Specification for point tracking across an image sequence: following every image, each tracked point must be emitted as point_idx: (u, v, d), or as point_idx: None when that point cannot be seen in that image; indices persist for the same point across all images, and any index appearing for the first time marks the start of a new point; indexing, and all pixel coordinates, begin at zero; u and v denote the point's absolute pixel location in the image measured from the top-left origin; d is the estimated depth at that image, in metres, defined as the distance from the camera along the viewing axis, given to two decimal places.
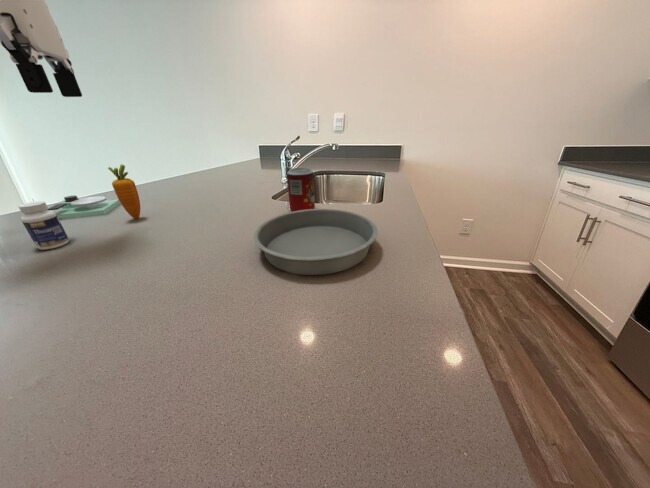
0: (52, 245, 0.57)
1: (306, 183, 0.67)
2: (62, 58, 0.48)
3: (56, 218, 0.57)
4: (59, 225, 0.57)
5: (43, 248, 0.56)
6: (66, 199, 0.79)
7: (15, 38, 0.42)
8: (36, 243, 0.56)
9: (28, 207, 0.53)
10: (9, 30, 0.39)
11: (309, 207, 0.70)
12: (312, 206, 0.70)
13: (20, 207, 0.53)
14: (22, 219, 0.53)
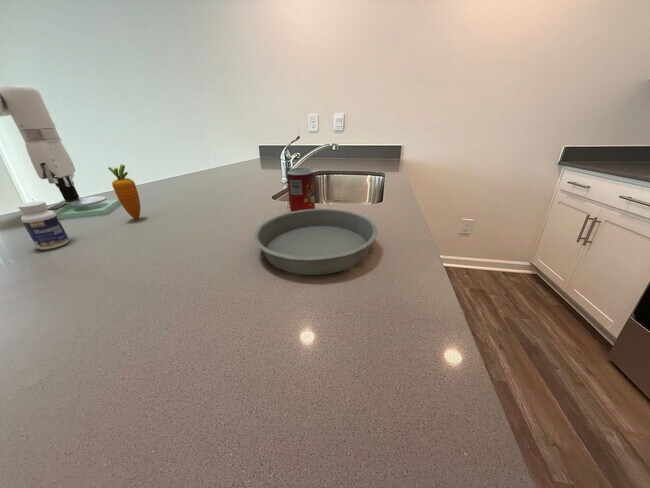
0: (52, 245, 0.57)
1: (306, 183, 0.67)
2: (72, 173, 0.80)
3: (56, 218, 0.57)
4: (59, 225, 0.57)
5: (43, 248, 0.56)
6: (67, 201, 0.80)
7: None
8: (36, 243, 0.56)
9: (28, 207, 0.53)
10: (55, 178, 0.74)
11: (309, 207, 0.70)
12: (312, 206, 0.70)
13: (20, 207, 0.53)
14: (22, 219, 0.53)
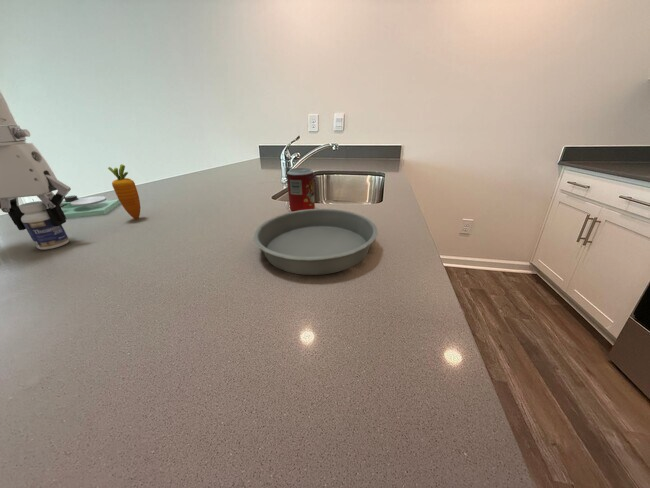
0: (52, 245, 0.57)
1: (306, 183, 0.67)
2: (36, 195, 0.53)
3: None
4: None
5: (43, 248, 0.56)
6: (66, 199, 0.79)
7: None
8: (36, 243, 0.56)
9: (28, 207, 0.53)
10: None
11: (309, 207, 0.70)
12: (312, 206, 0.70)
13: (20, 207, 0.53)
14: (22, 219, 0.53)
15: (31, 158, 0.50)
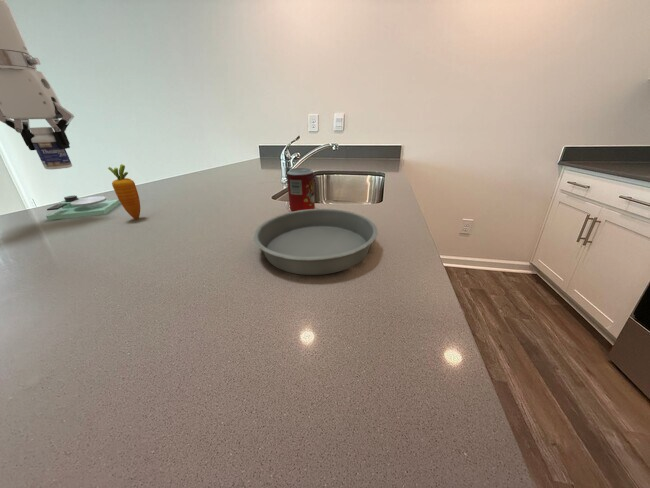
0: (57, 166, 0.65)
1: (306, 183, 0.67)
2: (44, 117, 0.61)
3: None
4: (64, 149, 0.66)
5: (49, 168, 0.65)
6: (66, 199, 0.79)
7: None
8: (44, 163, 0.64)
9: (37, 128, 0.62)
10: (1, 115, 0.60)
11: (309, 207, 0.70)
12: (312, 206, 0.70)
13: (31, 128, 0.62)
14: (32, 139, 0.62)
15: (41, 83, 0.59)
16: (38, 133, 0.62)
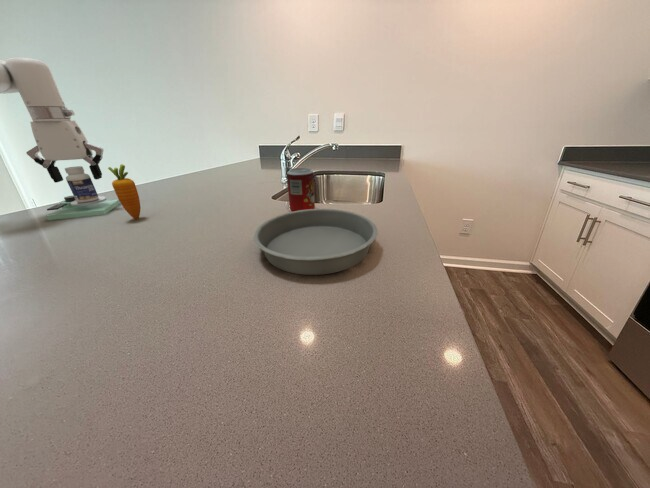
0: (87, 199, 0.77)
1: (306, 183, 0.67)
2: (77, 158, 0.72)
3: (90, 179, 0.77)
4: (92, 185, 0.77)
5: (81, 201, 0.76)
6: (66, 199, 0.79)
7: None
8: (76, 197, 0.76)
9: (72, 169, 0.73)
10: (33, 153, 0.70)
11: (309, 207, 0.70)
12: (312, 206, 0.70)
13: (66, 169, 0.73)
14: (67, 178, 0.73)
15: (75, 131, 0.70)
16: (72, 173, 0.73)
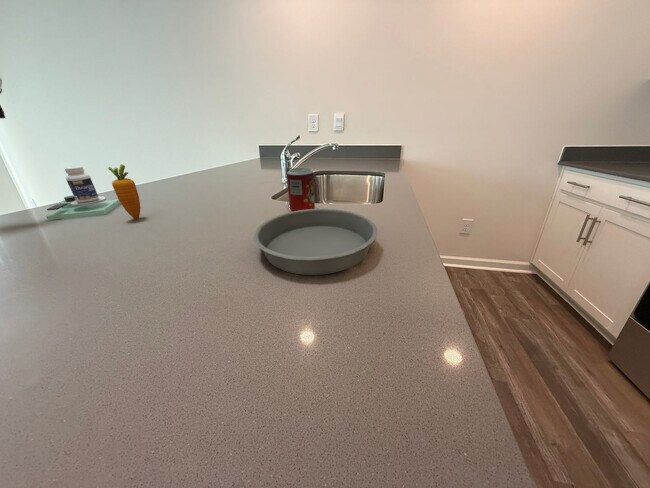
0: (87, 199, 0.77)
1: (306, 183, 0.67)
2: None
3: (90, 179, 0.77)
4: (92, 185, 0.77)
5: (81, 201, 0.76)
6: (66, 199, 0.79)
7: None
8: (76, 197, 0.76)
9: (72, 169, 0.73)
10: None
11: (309, 207, 0.70)
12: (312, 206, 0.70)
13: (66, 169, 0.73)
14: (67, 178, 0.73)
15: None
16: (72, 173, 0.73)
